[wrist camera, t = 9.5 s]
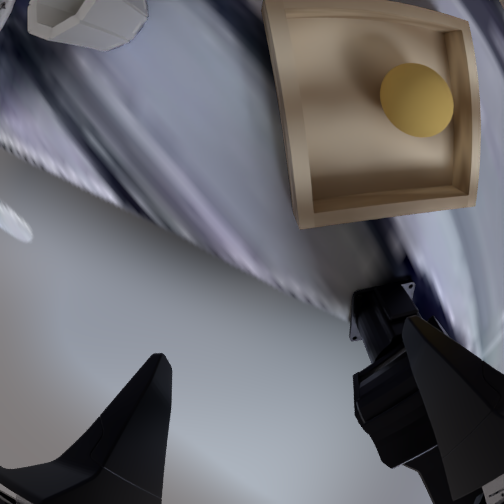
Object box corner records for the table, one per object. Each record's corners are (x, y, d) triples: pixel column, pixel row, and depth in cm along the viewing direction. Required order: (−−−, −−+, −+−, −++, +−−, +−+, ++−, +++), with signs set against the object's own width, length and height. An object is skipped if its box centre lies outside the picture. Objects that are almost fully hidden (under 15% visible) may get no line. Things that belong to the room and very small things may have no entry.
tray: (455, 193, 20) (475, 206, 17) (292, 212, 21) (299, 229, 18) (446, 25, 13) (468, 21, 10) (261, 10, 14) (263, -4, 11)
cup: (152, 35, 14) (108, 9, 8) (87, 60, 14) (28, 55, 8) (144, -20, 12) (104, -57, 5) (82, 7, 12) (27, -12, 6)
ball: (454, 145, 15) (477, 92, 10) (402, 160, 15) (421, 99, 11) (414, 99, 17) (425, 48, 12) (362, 110, 17) (367, 51, 13)
